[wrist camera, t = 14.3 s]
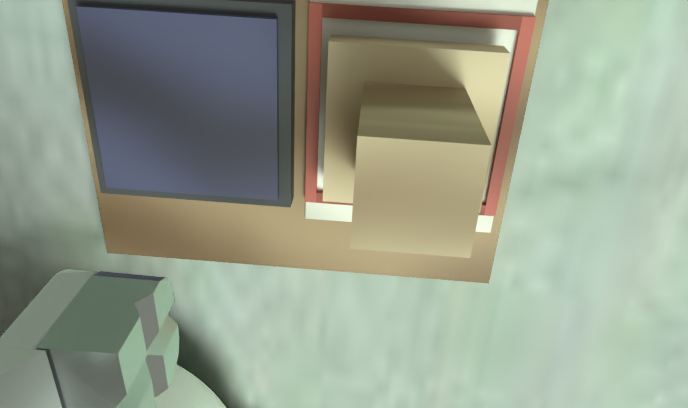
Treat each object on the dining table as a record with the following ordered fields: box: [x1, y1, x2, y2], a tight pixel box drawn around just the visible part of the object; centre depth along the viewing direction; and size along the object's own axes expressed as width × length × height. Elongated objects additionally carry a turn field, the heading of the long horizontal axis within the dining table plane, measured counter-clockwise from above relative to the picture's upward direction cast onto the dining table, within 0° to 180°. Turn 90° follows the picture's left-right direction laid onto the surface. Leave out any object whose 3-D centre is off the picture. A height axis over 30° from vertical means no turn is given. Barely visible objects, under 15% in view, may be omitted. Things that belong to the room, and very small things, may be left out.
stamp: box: [323, 35, 510, 258], centre depth 16 cm, size 5×5×6 cm
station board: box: [62, 0, 549, 283], centre depth 19 cm, size 13×15×2 cm
